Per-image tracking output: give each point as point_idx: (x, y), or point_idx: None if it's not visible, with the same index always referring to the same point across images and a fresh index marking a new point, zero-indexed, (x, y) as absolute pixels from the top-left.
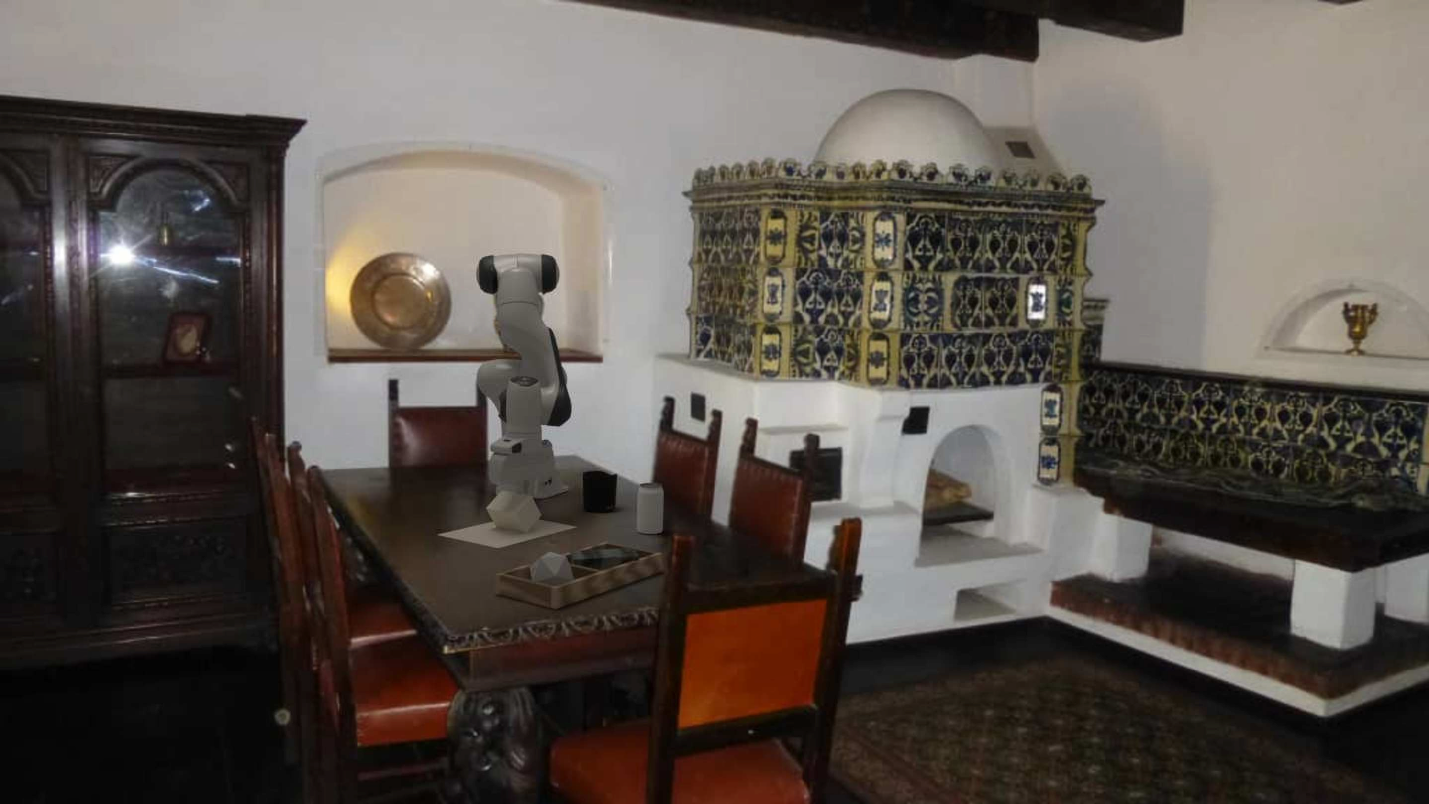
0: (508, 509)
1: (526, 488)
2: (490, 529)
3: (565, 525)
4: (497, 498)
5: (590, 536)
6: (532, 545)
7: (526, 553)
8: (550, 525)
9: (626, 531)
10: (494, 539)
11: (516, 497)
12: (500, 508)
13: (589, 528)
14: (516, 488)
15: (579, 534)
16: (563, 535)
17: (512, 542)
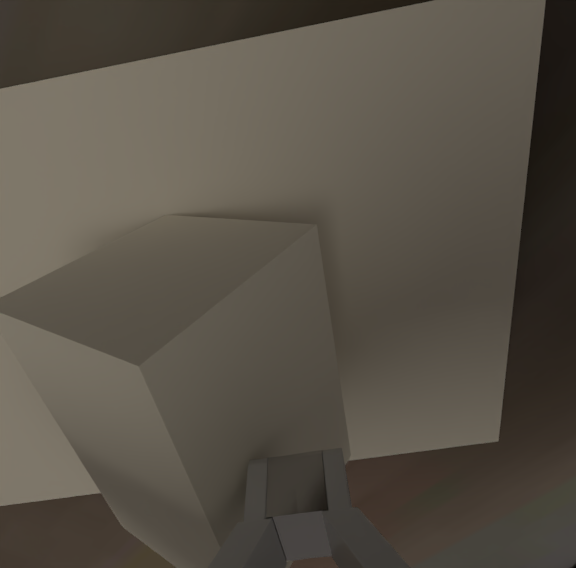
0: (103, 481)
1: (343, 565)
2: (103, 243)
3: (489, 397)
4: (72, 364)
5: (419, 527)
6: None
7: (84, 561)
8: (438, 359)
9: (572, 540)
10: (35, 414)
11: (185, 528)
12: (67, 427)
13: (532, 455)
14: (218, 566)
15: (415, 494)
16: (355, 477)
17: (90, 480)
